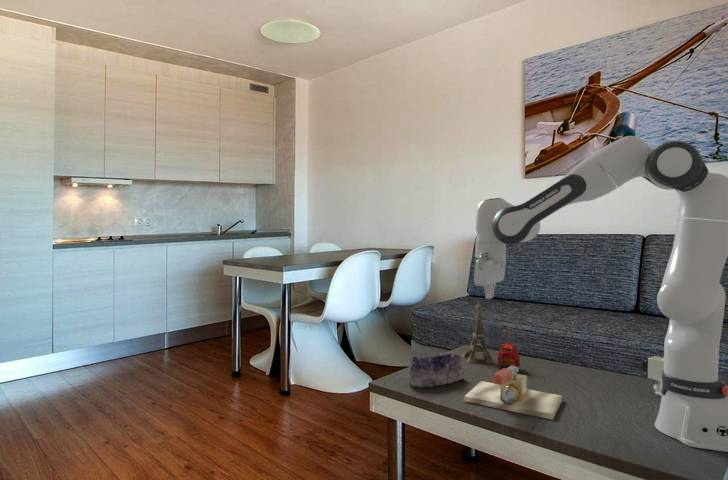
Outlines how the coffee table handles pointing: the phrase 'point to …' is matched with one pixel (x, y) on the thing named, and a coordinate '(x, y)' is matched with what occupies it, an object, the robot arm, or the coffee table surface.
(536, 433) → the coffee table surface
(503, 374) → the valve lever
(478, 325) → the eiffel tower
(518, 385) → the valve body
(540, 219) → the robot arm
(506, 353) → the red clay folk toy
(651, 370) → the pneumatic valve
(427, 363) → the geode
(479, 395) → the base board
